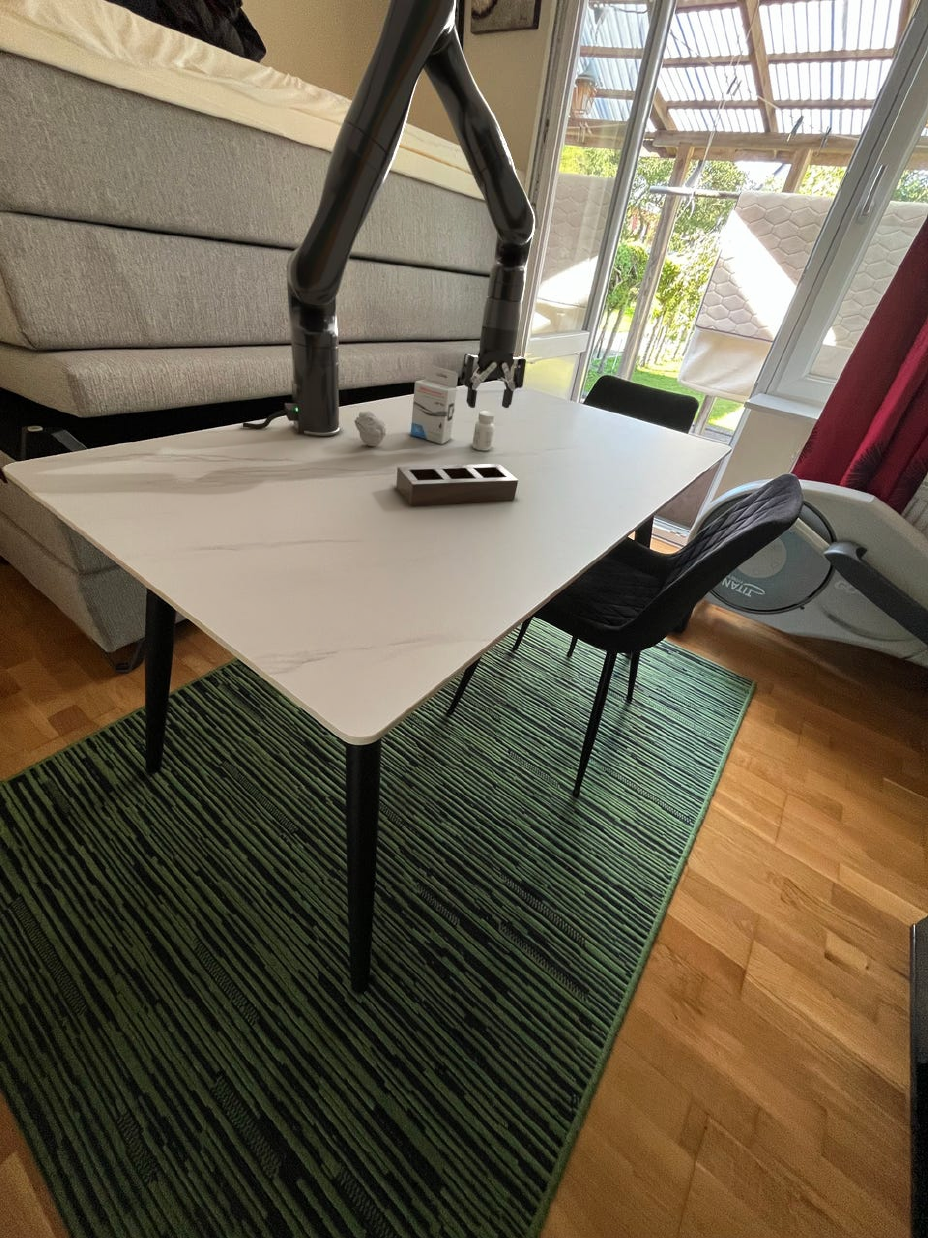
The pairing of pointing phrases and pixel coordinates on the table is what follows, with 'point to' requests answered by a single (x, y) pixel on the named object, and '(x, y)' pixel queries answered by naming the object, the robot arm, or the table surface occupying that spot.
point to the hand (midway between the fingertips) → (488, 407)
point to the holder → (455, 484)
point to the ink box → (434, 405)
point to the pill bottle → (483, 431)
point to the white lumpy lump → (370, 428)
